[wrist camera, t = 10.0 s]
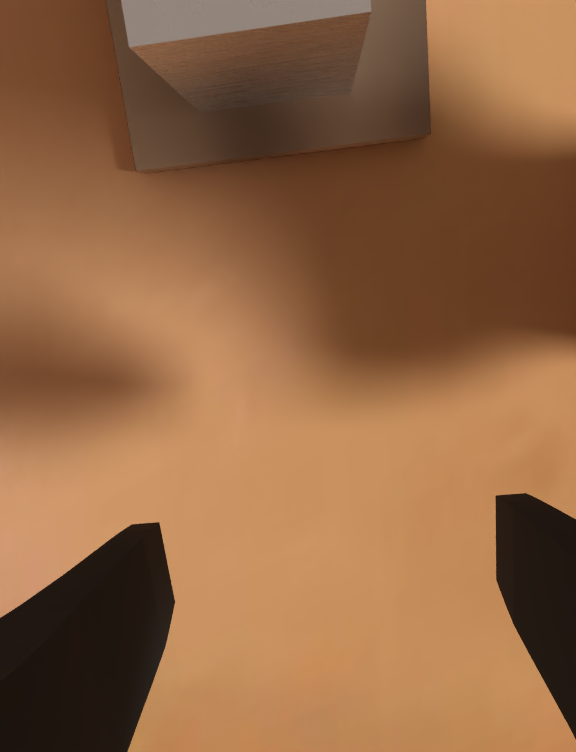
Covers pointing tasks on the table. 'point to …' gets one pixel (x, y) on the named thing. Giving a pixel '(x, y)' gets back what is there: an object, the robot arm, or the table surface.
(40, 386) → the table surface
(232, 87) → the brushed steel brick
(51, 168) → the table surface
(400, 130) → the thin tan panel
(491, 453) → the table surface
